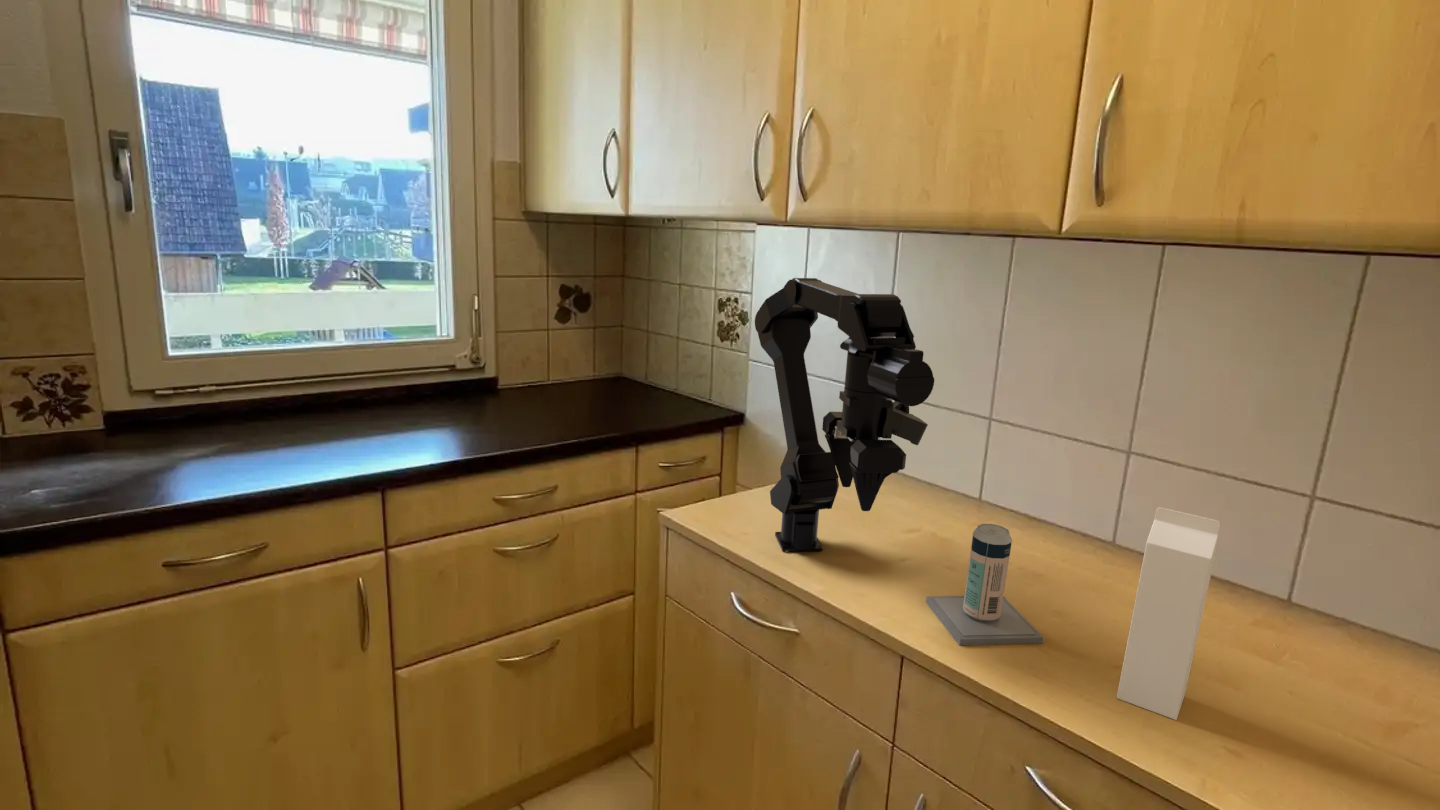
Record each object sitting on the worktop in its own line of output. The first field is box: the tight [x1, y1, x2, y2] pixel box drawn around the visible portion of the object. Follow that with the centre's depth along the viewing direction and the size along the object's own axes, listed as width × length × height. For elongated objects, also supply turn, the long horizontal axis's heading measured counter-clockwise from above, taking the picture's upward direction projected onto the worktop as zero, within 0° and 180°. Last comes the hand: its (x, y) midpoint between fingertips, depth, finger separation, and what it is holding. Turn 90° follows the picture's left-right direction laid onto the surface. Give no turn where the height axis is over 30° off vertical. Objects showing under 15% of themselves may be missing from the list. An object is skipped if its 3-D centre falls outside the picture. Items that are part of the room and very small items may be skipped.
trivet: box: [925, 595, 1044, 646], centre depth 102 cm, size 11×11×1 cm
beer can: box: [963, 523, 1013, 622], centre depth 100 cm, size 5×5×12 cm
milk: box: [1116, 506, 1221, 721], centre depth 84 cm, size 6×6×22 cm
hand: (855, 498), depth 107 cm, fingers open, 9 cm apart
